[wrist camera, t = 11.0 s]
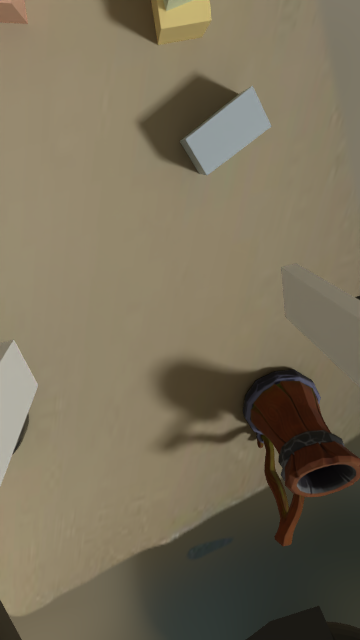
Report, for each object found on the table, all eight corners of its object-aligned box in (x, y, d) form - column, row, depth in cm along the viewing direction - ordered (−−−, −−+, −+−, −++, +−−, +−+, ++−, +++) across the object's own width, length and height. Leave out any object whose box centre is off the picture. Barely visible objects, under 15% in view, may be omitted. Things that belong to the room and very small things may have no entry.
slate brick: (199, 173, 34) (207, 175, 31) (179, 141, 33) (185, 139, 29) (255, 129, 33) (271, 126, 29) (238, 94, 32) (252, 85, 28)
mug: (279, 459, 56) (325, 554, 42) (216, 453, 53) (244, 552, 40) (327, 373, 49) (400, 455, 35) (257, 361, 46) (307, 445, 33)
